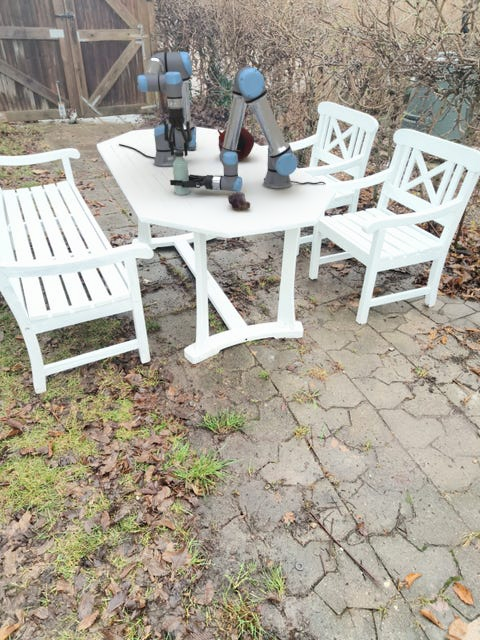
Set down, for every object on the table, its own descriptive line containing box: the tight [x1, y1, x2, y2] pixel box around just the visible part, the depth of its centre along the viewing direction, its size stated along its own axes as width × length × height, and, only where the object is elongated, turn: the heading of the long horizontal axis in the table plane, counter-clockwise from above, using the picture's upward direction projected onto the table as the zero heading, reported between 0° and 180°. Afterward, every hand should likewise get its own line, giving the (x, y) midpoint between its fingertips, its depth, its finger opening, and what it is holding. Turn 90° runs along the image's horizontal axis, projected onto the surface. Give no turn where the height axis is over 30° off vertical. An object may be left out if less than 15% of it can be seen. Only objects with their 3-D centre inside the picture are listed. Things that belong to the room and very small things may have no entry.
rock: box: [227, 191, 251, 211], centre depth 224 cm, size 12×9×10 cm
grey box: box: [174, 142, 197, 151], centre depth 321 cm, size 17×18×20 cm
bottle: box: [172, 156, 191, 196], centre depth 241 cm, size 8×8×21 cm
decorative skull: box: [217, 126, 255, 162], centre depth 297 cm, size 21×24×25 cm
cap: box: [174, 150, 185, 157], centre depth 236 cm, size 4×4×2 cm
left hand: (179, 155), depth 236 cm, fingers open, 7 cm apart
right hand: (173, 180), depth 244 cm, fingers closed on bottle, 8 cm apart
